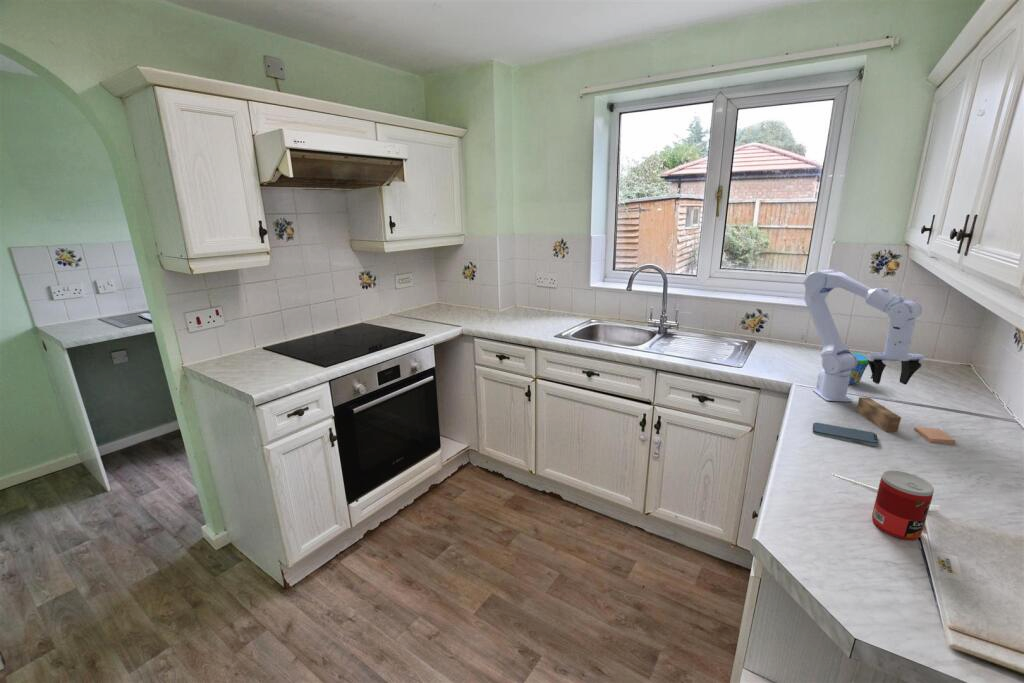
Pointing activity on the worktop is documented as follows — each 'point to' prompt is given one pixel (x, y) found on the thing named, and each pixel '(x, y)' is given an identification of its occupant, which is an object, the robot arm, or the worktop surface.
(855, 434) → the smartphone
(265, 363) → the worktop surface
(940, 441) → the tile
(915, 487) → the canned food
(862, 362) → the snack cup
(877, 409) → the long wooden beam
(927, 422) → the worktop surface
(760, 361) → the worktop surface
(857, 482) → the fork
